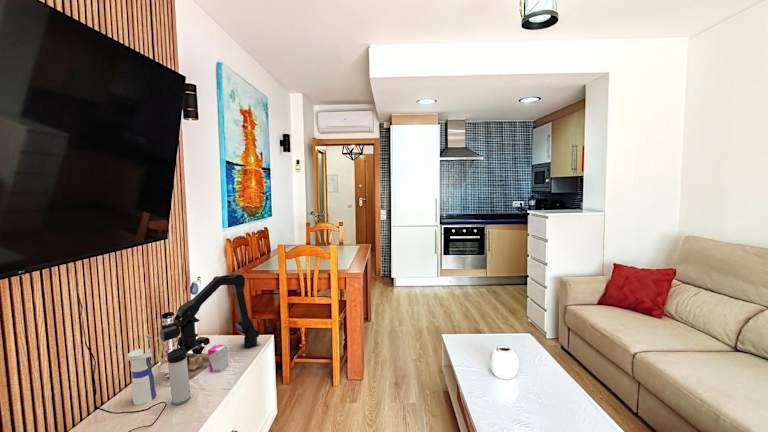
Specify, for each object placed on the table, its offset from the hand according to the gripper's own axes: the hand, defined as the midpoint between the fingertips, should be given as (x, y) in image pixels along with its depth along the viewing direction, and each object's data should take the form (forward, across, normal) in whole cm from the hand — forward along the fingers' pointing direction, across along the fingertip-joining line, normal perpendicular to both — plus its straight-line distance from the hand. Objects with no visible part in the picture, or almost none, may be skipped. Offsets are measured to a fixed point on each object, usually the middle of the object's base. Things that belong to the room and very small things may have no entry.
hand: (191, 367), depth 157 cm
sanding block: (0, 0, 0) cm, 0 cm away
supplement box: (+2, -2, +13) cm, 13 cm away
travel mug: (+2, +19, +13) cm, 23 cm away
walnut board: (+2, -2, 0) cm, 3 cm away
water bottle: (+2, +21, -3) cm, 21 cm away
